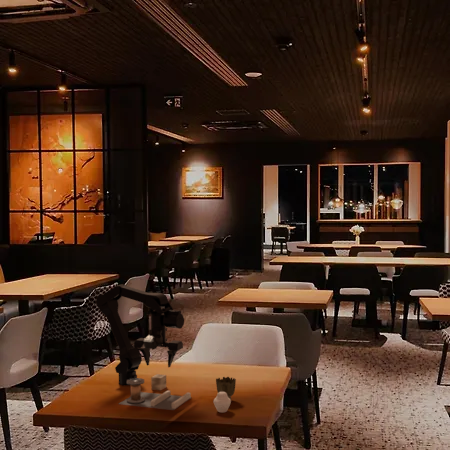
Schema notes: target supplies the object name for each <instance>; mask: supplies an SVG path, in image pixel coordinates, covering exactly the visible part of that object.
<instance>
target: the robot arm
mask: <svg viewBox="0 0 450 450" xmlns="http://www.w3.org/2000/svg"><path fill="white" fill-rule="evenodd" d="M122 297H124V298H127V299H130V300H133V301H135V302H139V303H142V304H143V305H144V306H145V307H146V308H148V311H146V312H145V315H149V316H150V329H149V331H148V332H149V333H148V335H147V336H146V337H144V338H143V337H139V338H138V339H135V340H134V342H133V344H132V343H131V341H130V338H129V335H128V333H127V331H126V327H124V323H123V321H122V319H121V316H120V314H119V311H118V310H119V302H118V301H120V300H121V299H122ZM95 305H96V306H97V308H98V309H99V311H100V312H101V314H103V315H104V316H105V318H106V319H107V321H108V325H109V327H110V329H111V331H112V333H113V334H112V335H113V336H114V339H115V341H116V344H117V346H118V349H119V354H118V359H119V361H120V362H119V363H118V364H117V365H116V366H115V367H114V370H115V373H116V374H118V385H120V386H127V387H128V386H130V385H129V384H127V380H128V379H132V378H138V375H137V370H138V369H139V368H140V365H141V363H142V361H143V358H144V361H145V364H146V366H150V358H151V357H150V355H151V350H156V349H157V348H159V347H160V348H167V349H168V350H167V351H166V352H167V356H168V357H167V367H168V368H171V367H172V364H173V362H174V361H173V360H174V358H175V356H176V354H177V352H178V351H181V349H183V348H184V343H183V342H182V340H171V341H168V338H166V337H167V336H166V335H167V334H166V332H167V331H168V328H170V329H171V328H172V329H182V328H183V327H184V325H185V318H184V315H183V314H182V311H181V309H180V310H174V308H173V306H172V305H171V303H170V302H169V300H168V297H167V295H166V294H164V293H160V292H146V291H143V290H140V289H136V288H134V287H131V286H127V285H126V284H119V285H115V286H114V287H112V288H111V289H110V290H107V291H105V292H104V293H101V294H98V295H97V296H96V300H95ZM142 356H143V358H142Z"/></svg>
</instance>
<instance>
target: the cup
mask: <svg viewBox="0 0 450 450" xmlns="http://www.w3.org/2000/svg"><path fill="white" fill-rule="evenodd" d="M236 382H237V379H236V378H234V377H230V376H226V377H225V376H223V377H222V378H220V377H218V378H215V384H216V385H215V386H216V390H217V394H218V393H219V392H226V393H227V396H228V397H229V398H230V400H231V399H232V396H233V395H234V394H235V391H236ZM231 401H232V400H231Z"/></svg>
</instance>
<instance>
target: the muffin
mask: <svg viewBox="0 0 450 450" xmlns="http://www.w3.org/2000/svg"><path fill="white" fill-rule="evenodd" d="M212 402H213V404H214V407H215V408H216V412H219V413H226V412H228V409H229V408H230V405H231V404H232V403H231V402H232V400H230V398H229V397H228V396H227V393H226V392H219V393H218V392H217V394H216V397H215V398H213V401H212Z"/></svg>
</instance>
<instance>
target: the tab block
mask: <svg viewBox="0 0 450 450" xmlns="http://www.w3.org/2000/svg"><path fill="white" fill-rule="evenodd" d="M150 380H151V381H150V382H151V383H150V385H151V390H153V391H162V390H164V389H166V388H167V374H159V373H156V374H155V375H153V376H151V379H150Z"/></svg>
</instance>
